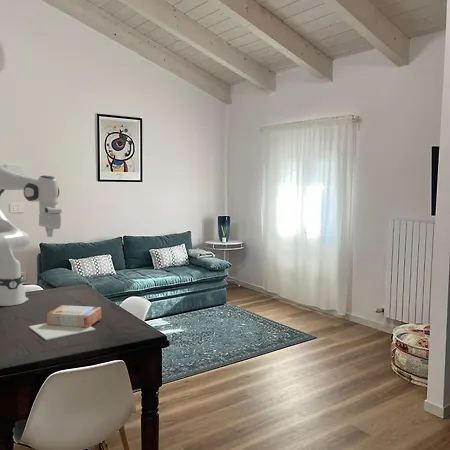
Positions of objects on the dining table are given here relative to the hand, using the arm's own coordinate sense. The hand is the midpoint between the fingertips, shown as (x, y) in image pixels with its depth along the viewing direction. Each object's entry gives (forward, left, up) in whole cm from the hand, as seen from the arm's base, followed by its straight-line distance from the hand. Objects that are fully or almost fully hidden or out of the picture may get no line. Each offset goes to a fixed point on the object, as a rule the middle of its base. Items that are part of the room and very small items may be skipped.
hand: (49, 236), depth 232 cm
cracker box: (+14, -4, -36) cm, 39 cm away
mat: (+27, -5, -39) cm, 48 cm away
